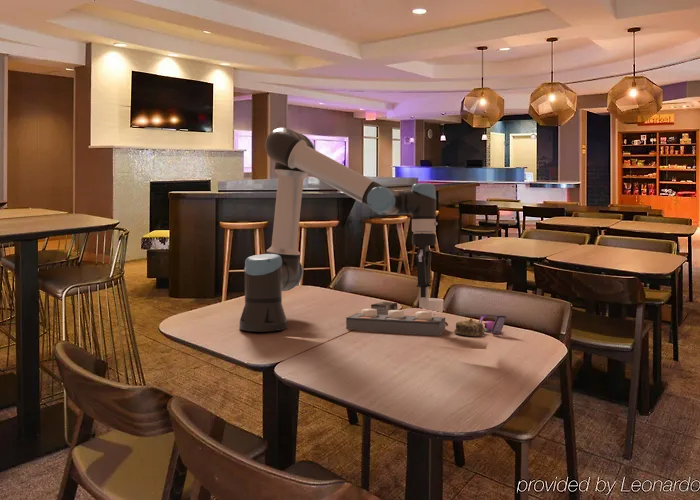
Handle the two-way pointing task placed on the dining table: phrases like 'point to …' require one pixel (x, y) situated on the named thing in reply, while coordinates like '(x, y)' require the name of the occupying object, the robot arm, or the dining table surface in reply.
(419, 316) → the button right
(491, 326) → the purple toy box
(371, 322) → the console
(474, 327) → the beige textured round piece
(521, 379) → the dining table surface
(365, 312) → the button left
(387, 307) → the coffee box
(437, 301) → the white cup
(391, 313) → the button middle
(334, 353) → the dining table surface
